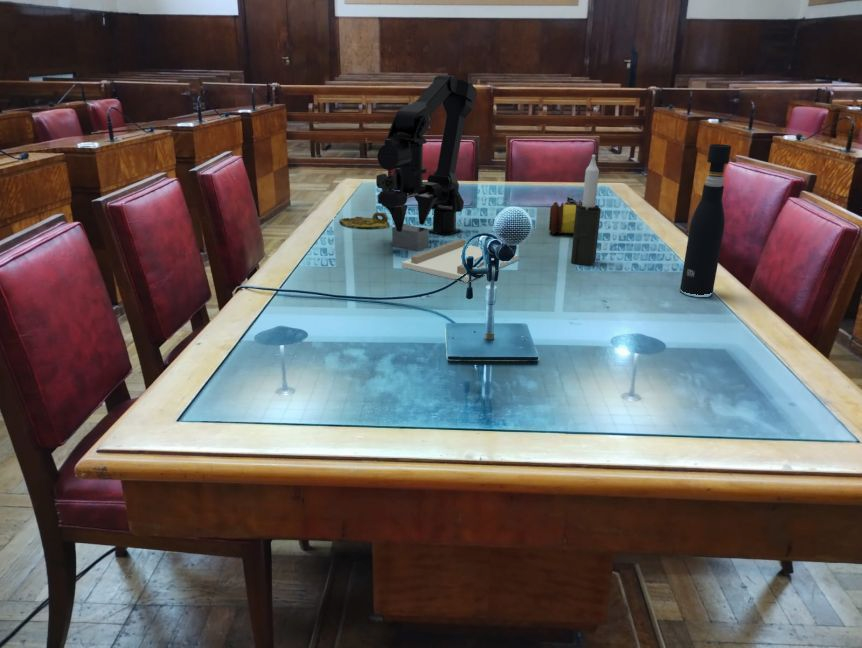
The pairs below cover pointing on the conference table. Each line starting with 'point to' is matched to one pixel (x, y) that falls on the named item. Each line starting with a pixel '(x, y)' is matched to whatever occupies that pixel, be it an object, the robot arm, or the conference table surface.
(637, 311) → the conference table surface
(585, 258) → the candle
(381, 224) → the seal
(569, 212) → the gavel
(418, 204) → the robot arm
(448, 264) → the plate
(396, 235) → the block
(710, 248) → the black water bottle
